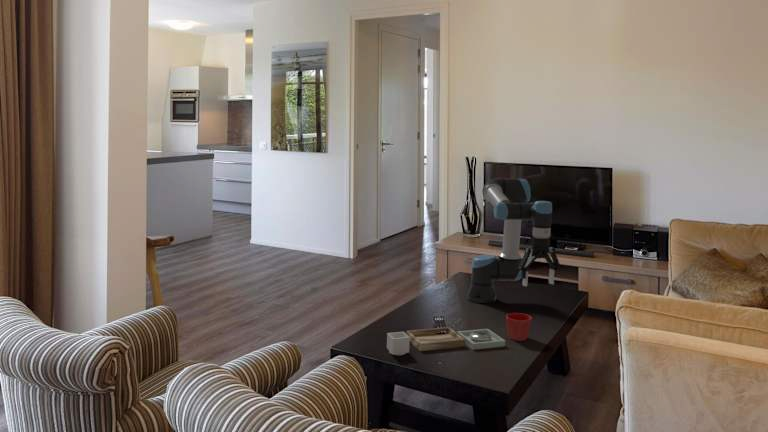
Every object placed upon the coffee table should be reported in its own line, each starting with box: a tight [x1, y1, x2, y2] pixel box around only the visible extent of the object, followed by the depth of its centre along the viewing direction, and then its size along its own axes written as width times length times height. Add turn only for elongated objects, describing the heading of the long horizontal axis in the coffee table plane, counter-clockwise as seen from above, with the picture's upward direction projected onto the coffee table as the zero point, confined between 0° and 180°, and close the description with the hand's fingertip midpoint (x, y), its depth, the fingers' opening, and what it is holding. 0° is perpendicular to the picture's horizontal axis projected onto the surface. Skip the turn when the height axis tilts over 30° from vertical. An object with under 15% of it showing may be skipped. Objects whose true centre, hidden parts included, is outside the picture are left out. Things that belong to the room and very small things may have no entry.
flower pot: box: [505, 312, 533, 342], centre depth 256 cm, size 11×11×10 cm
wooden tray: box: [405, 326, 466, 352], centre depth 249 cm, size 16×20×3 cm
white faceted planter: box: [386, 331, 410, 356], centre depth 237 cm, size 7×7×7 cm
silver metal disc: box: [470, 332, 491, 341], centre depth 251 cm, size 9×9×1 cm
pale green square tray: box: [456, 328, 506, 351], centre depth 251 cm, size 15×15×2 cm
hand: (538, 284), depth 259 cm, fingers open, 13 cm apart
